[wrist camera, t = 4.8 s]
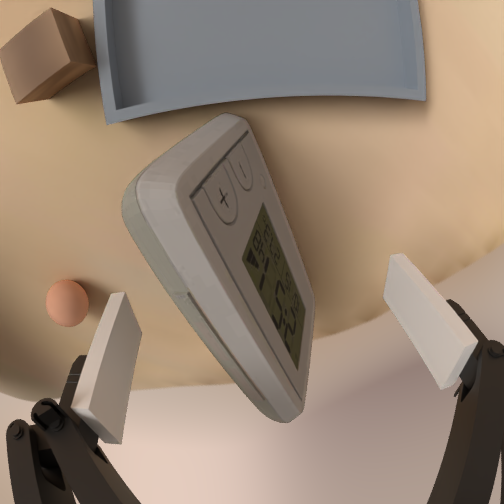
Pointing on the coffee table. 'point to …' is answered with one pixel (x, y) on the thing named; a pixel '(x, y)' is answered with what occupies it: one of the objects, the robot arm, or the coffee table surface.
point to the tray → (253, 51)
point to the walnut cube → (45, 57)
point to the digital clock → (229, 259)
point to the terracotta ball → (67, 303)
